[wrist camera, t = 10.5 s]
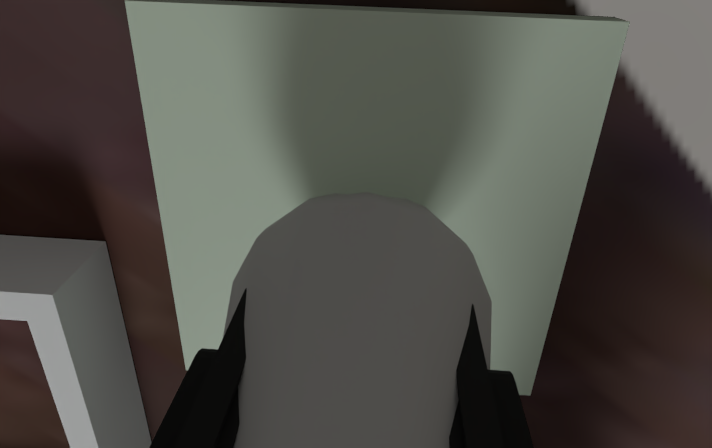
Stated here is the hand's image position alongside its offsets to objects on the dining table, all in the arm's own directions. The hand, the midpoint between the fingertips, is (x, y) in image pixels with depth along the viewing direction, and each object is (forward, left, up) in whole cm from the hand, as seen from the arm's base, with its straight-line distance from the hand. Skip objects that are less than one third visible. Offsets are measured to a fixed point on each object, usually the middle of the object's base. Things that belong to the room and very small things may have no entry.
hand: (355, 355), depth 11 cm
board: (0, 0, -6) cm, 6 cm away
